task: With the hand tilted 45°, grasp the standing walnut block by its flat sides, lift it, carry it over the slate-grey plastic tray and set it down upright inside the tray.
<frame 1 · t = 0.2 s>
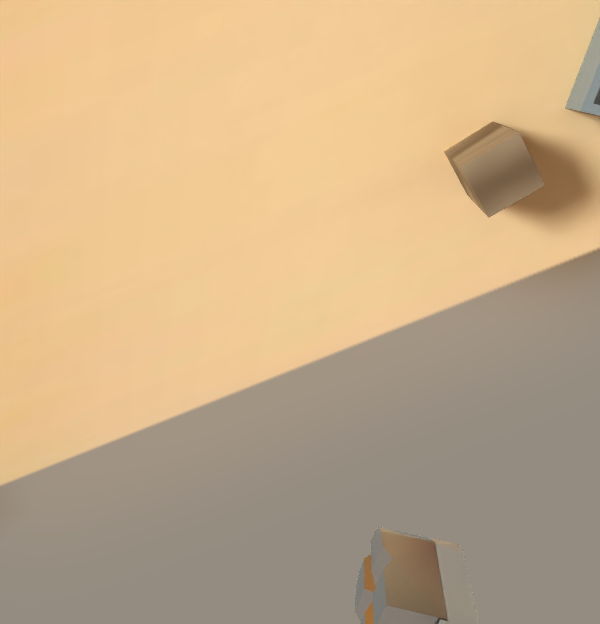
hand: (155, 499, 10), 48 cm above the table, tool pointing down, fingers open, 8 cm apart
walnut block: (479, 159, 53), on the table
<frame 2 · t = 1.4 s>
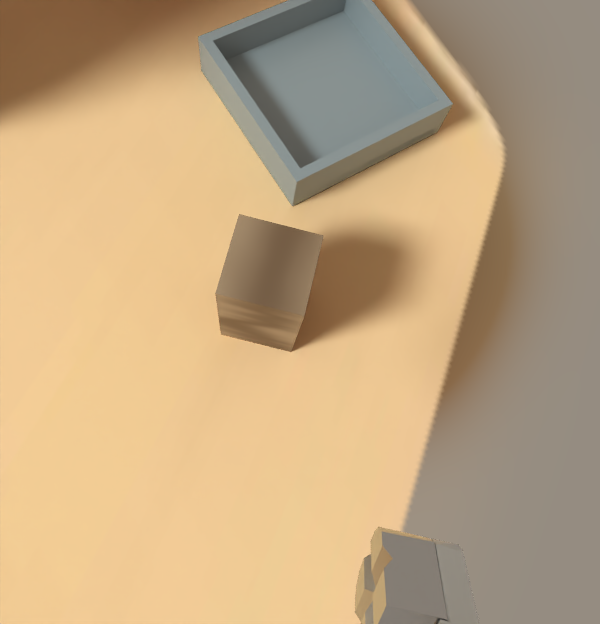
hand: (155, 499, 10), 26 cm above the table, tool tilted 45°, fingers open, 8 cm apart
tray: (320, 101, 44), on the table
walnut block: (264, 310, 39), on the table
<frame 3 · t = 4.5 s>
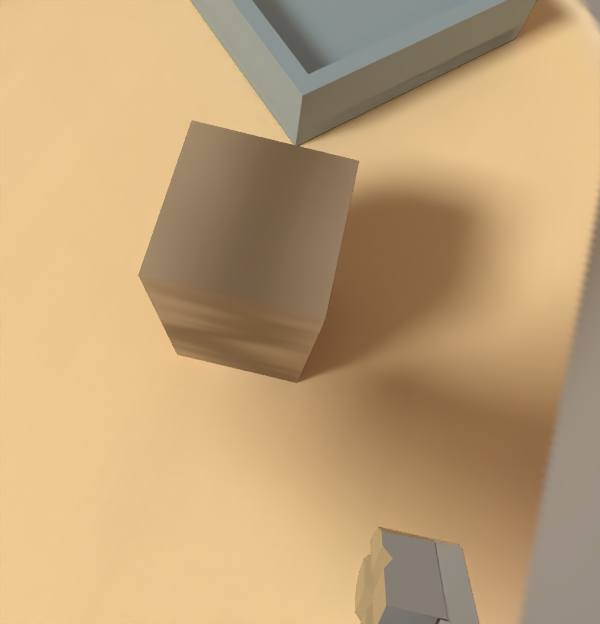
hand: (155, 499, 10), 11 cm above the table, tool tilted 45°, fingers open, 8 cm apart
walnut block: (252, 312, 23), on the table
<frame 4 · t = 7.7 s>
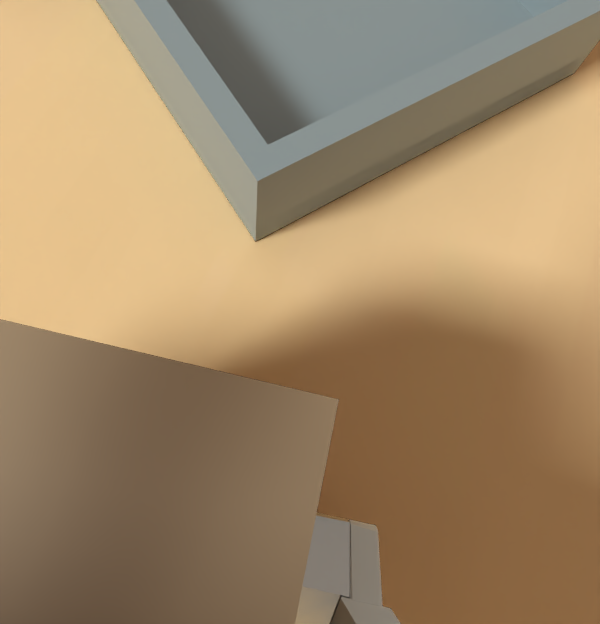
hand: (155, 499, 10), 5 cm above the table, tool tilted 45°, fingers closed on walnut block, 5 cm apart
tray: (319, 10, 21), on the table
walnut block: (177, 523, 14), on the table, touching gripper
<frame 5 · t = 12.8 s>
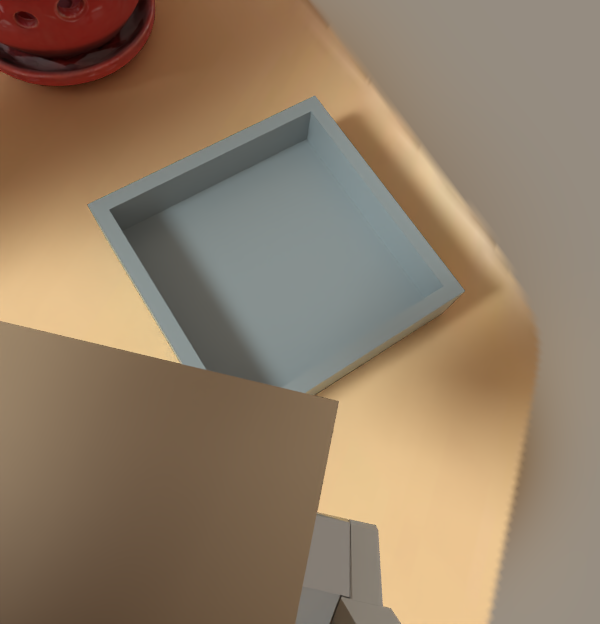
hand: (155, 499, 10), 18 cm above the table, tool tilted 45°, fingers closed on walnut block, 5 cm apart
tray: (274, 274, 31), on the table
walnut block: (177, 524, 14), point 13 cm above the table, touching gripper
plant pot: (70, 26, 36), on the table
when the fingers open (7 cm above the table, at t = 17.9 s): walnut block stays where it is, resting on tray.
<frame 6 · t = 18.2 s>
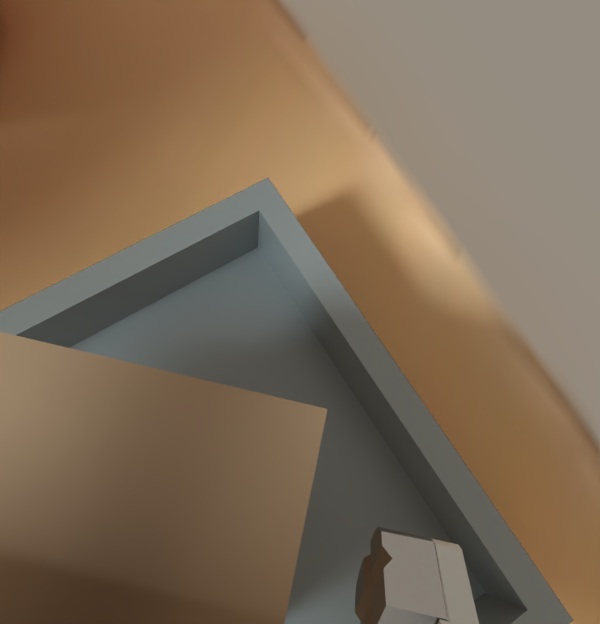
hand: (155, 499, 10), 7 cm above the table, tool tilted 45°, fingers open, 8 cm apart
tray: (186, 520, 16), on the table
walnut block: (181, 521, 15), point 1 cm above the table, touching tray
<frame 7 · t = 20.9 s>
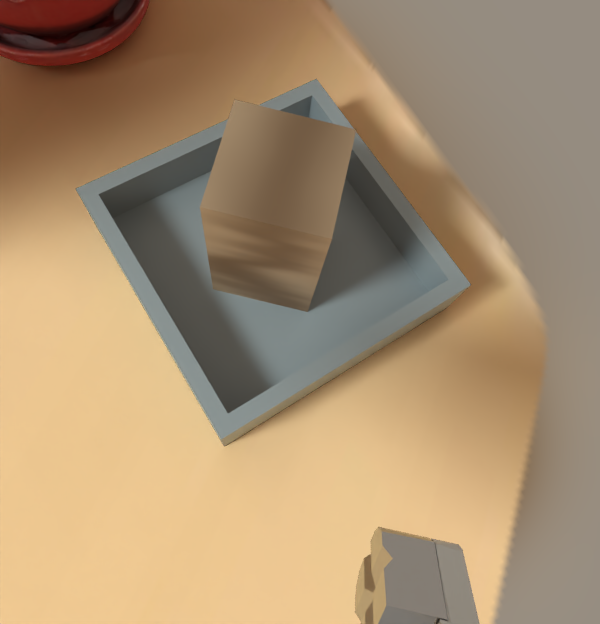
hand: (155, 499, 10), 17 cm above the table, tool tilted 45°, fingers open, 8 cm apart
tray: (271, 265, 30), on the table
walnut block: (271, 257, 29), point 1 cm above the table, touching tray
plant pot: (62, 4, 35), on the table
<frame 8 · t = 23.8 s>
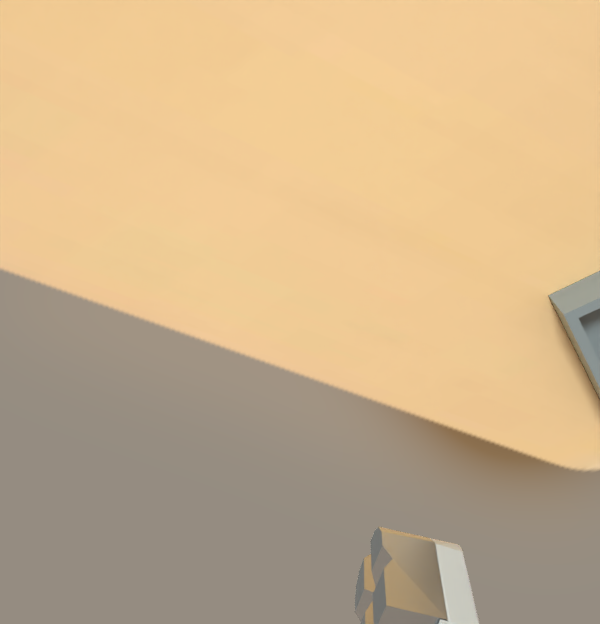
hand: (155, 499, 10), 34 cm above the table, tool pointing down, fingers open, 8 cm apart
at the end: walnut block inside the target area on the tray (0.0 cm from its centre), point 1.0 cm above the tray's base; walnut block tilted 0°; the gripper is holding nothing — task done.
